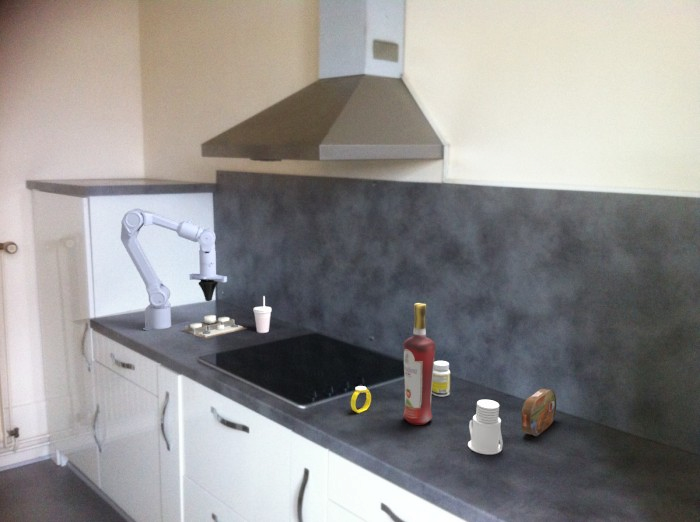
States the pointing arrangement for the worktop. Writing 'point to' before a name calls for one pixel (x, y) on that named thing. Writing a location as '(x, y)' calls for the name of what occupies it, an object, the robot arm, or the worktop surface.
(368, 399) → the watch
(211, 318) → the button mid
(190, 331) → the console
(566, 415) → the worktop surface
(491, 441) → the downlight
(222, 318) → the button far
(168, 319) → the robot arm
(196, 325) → the button near
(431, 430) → the worktop surface
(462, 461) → the worktop surface
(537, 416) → the tin
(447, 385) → the supplement bottle
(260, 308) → the smoothie
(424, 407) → the liquor
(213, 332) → the strip
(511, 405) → the worktop surface
